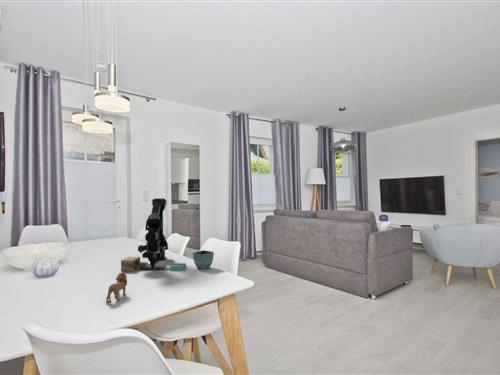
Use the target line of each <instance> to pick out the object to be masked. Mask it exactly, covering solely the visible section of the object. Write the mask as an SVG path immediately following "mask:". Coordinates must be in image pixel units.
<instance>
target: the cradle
mask: <svg viewBox="0 0 500 375" xmlns="http://www.w3.org/2000/svg"><path fill="white" fill-rule="evenodd" d="M186 268H187V264H186V262H184V263H183V262H180V263H179V262H173V263H172V264H171V265H170V268H169V271H170V272H182V271H184V270H185V269H186Z"/></svg>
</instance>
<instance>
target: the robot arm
mask: <svg viewBox="0 0 500 375" xmlns="http://www.w3.org/2000/svg"><path fill="white" fill-rule="evenodd" d="M167 202H168V201H167V199H166V198H164V197H161V198H160V197H159V198H153V199H152V200H151V206H152V208H151V212H150V214H149V215H148V217H147V219H146V222H145V231H147V232H146V234H145V236H144V239H145V241H146V244H144V245H143V244H140V245H138V246H137V251H138V252H139V254H141V253H142V254H141V257H142V259H147V260H148V262H150V265H151V268H154V265H155V262H160V261H164V260H165V259H167V256H166V251H167V250H169V245H168V240H167V237H166V235H164V211H165V210H166V206H167Z"/></svg>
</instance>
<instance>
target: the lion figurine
mask: <svg viewBox="0 0 500 375" xmlns="http://www.w3.org/2000/svg"><path fill="white" fill-rule="evenodd" d="M115 280H116V283H112V284H110V285H109V287H108V291H107V296H106V298H105V299H106V301H105V303H106V304H108V303H109V304H110V305H111V304H112V300H111V295H112V293H113V294H114V299H115V300H116V301H121V300H120V298H118V297H119V296H121V295H120V292H121V290H122V295H123V296H127V293H126V287H127V285H128V279H127V274H126V273H124V272H119V273H118V274H117V276H116V277H115Z"/></svg>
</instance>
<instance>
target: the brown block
mask: <svg viewBox="0 0 500 375" xmlns="http://www.w3.org/2000/svg"><path fill="white" fill-rule="evenodd" d="M140 262H141V256H128V257H125V258H122V259H121V260H120V271H121V272H134V271H136V269H138V268H139V265H140ZM139 269H140V268H139Z"/></svg>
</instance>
